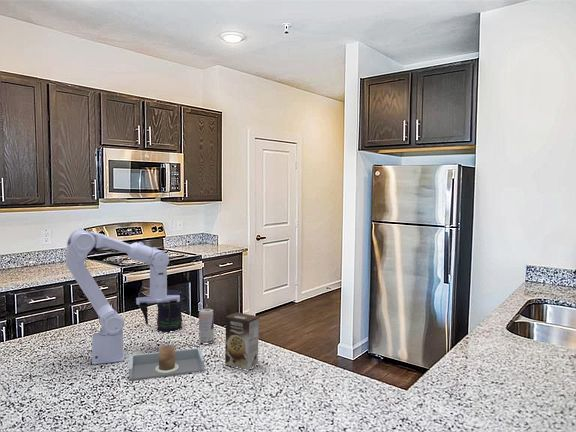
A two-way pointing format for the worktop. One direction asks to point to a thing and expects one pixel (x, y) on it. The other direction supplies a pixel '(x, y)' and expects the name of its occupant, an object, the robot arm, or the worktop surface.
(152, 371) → the grey tray
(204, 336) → the energy drink
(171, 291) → the storage jar
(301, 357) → the worktop surface
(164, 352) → the brown cylinder
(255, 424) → the worktop surface
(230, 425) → the worktop surface
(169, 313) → the robot arm
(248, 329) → the coffee box
